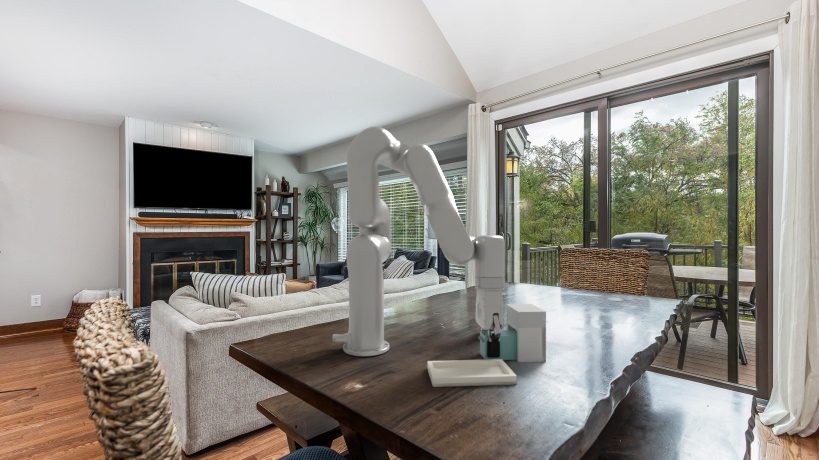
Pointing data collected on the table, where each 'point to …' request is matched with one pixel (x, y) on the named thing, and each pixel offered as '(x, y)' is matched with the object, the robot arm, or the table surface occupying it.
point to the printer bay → (528, 331)
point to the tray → (470, 373)
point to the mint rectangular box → (501, 344)
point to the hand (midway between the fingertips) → (490, 352)
